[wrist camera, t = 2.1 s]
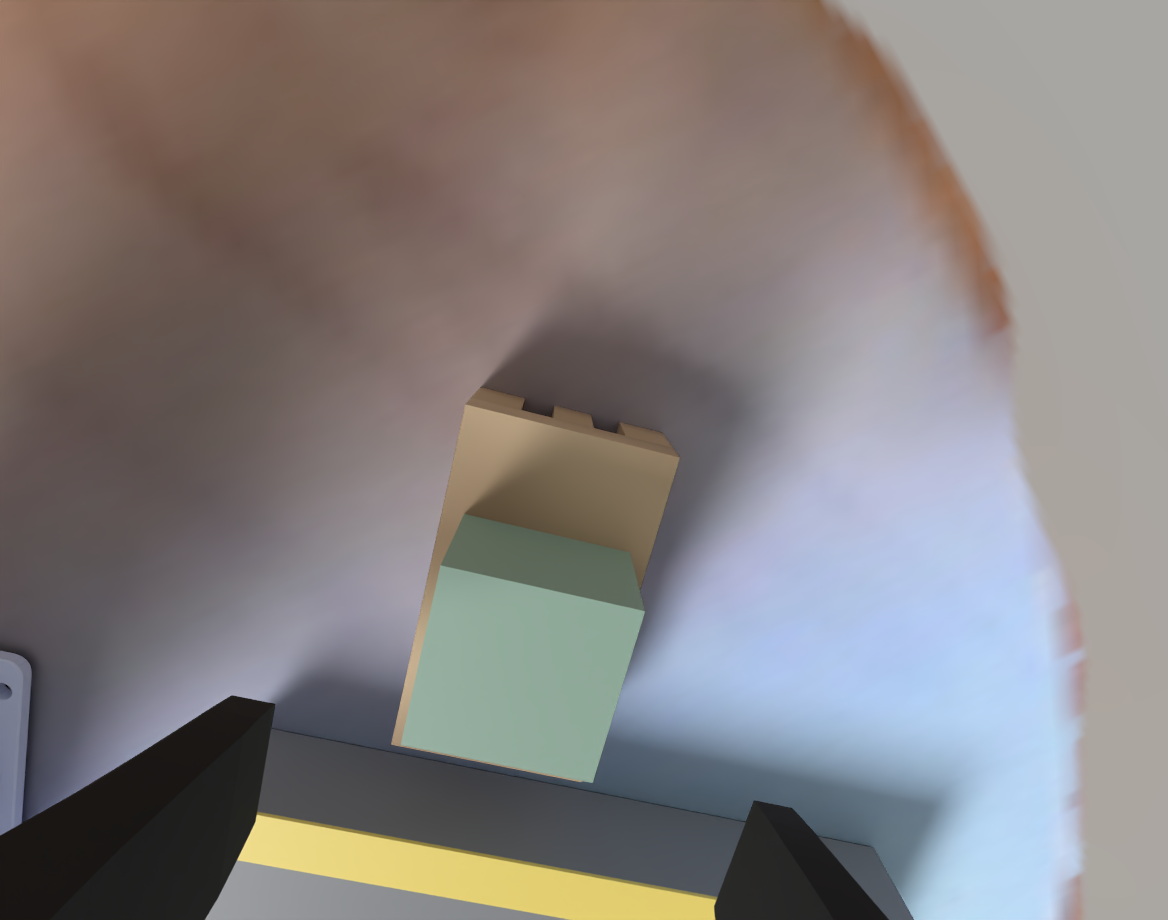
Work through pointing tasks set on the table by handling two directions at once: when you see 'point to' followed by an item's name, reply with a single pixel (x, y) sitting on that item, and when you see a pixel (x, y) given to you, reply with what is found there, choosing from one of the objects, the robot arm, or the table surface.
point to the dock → (477, 846)
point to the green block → (525, 650)
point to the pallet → (548, 490)
